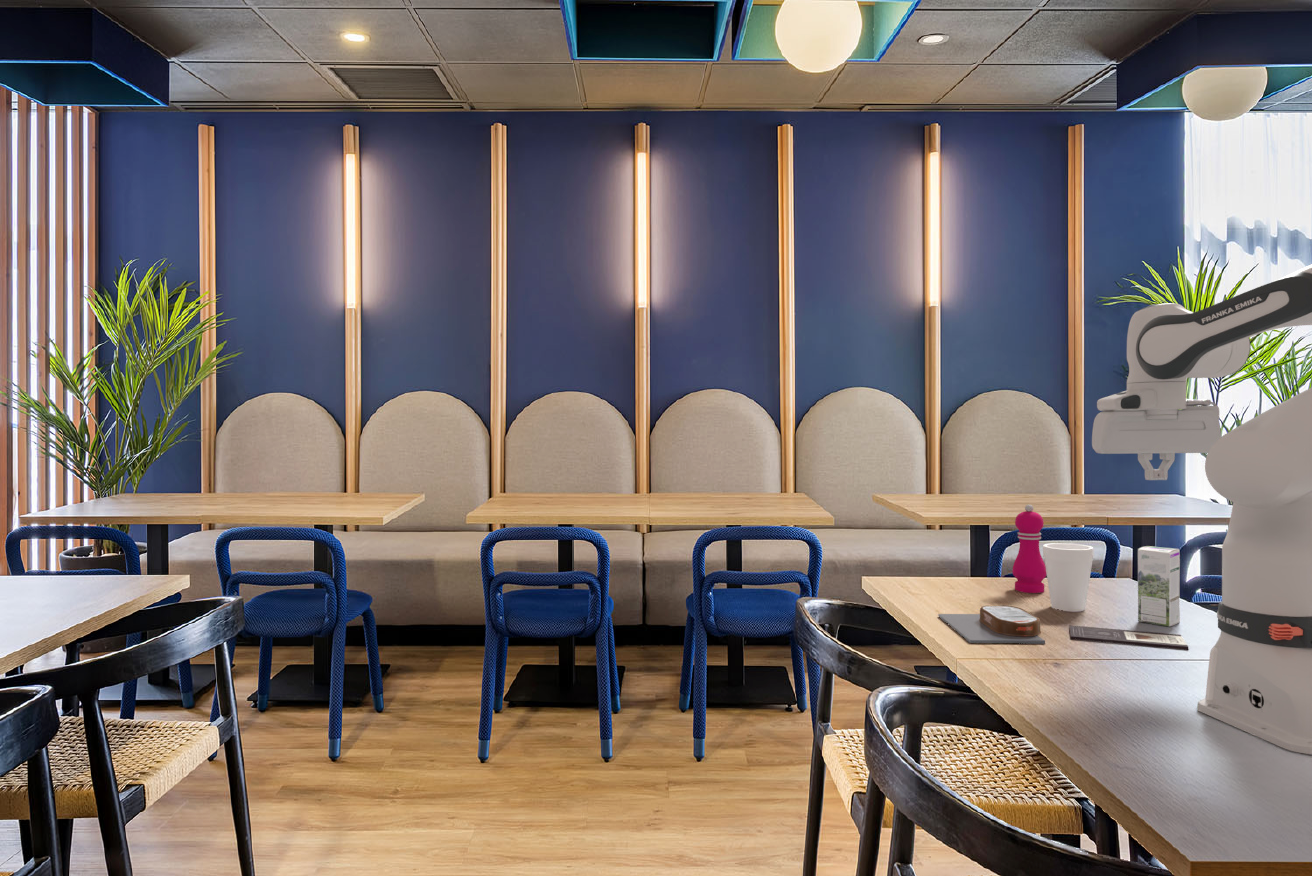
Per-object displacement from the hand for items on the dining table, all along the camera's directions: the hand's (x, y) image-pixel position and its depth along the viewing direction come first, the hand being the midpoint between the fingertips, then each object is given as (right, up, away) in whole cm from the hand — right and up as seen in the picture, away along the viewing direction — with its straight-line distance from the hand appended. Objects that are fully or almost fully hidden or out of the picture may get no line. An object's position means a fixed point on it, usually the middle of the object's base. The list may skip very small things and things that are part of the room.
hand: (1156, 479), depth 142 cm
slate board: (-23, -29, +14) cm, 40 cm away
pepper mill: (0, -28, +49) cm, 56 cm away
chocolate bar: (-1, -30, +7) cm, 30 cm away
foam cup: (0, -29, +31) cm, 42 cm away
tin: (-15, -27, +13) cm, 34 cm away
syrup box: (+11, -29, +18) cm, 36 cm away
